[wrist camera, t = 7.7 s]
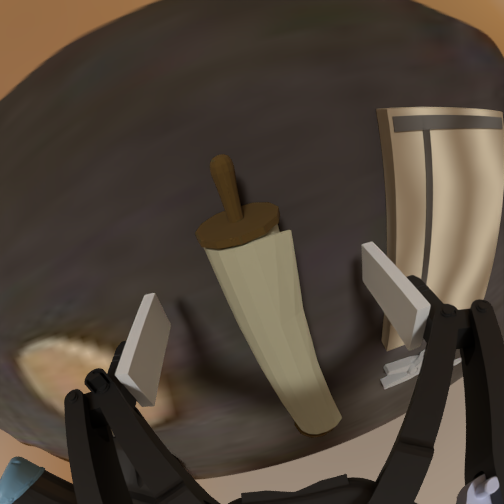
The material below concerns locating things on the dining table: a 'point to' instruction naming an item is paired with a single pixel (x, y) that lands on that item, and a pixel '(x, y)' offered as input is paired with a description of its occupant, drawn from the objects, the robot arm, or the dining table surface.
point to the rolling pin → (267, 299)
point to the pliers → (404, 370)
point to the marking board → (442, 199)
